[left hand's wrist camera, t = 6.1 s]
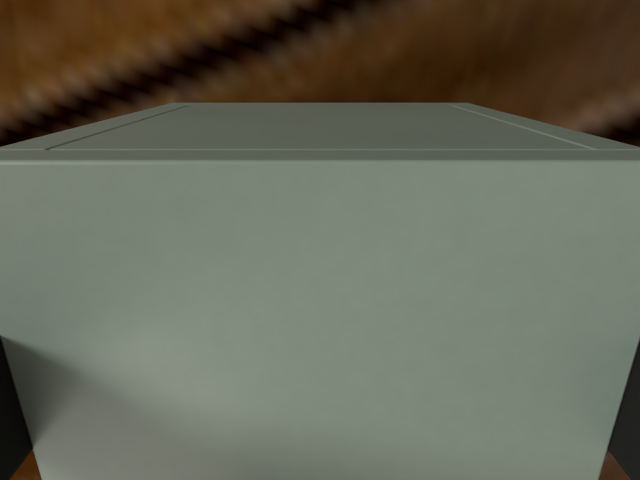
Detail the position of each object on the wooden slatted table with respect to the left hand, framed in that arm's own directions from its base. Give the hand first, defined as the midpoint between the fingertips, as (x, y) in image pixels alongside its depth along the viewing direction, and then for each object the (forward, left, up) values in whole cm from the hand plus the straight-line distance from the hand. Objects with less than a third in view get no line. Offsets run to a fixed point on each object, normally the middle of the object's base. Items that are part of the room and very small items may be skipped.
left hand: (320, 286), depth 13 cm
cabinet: (+2, +6, -7) cm, 9 cm away
